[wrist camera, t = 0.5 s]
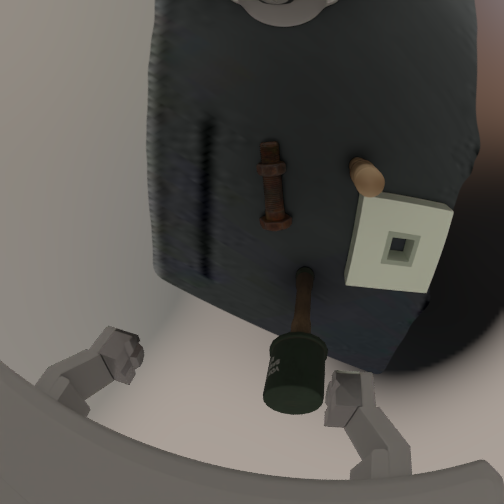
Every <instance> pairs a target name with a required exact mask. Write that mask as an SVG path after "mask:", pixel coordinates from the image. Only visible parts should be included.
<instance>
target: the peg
mask: <svg viewBox="0 0 504 504" xmlns="http://www.w3.org/2000/svg"><path fill="white" fill-rule="evenodd" d="M349 169H350V177H351V179H352V181H353V182H354V184H355V186H356V188H357V190H358V192H359V193H360V194H361V195H363V196H365V197H375V196H377V195H379V194H380V193H381V192H382V190H383V188H384V184H385V181H384V177H383V175H382V174H381V173H380V172H379V171H378V170H377V169H376V168H375V167H374V165H373V164H372V163H371V162H369V161H367V160H364V159H362V158H360V157H356V158H353V159H352V160H351V161H350V163H349Z"/></svg>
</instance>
